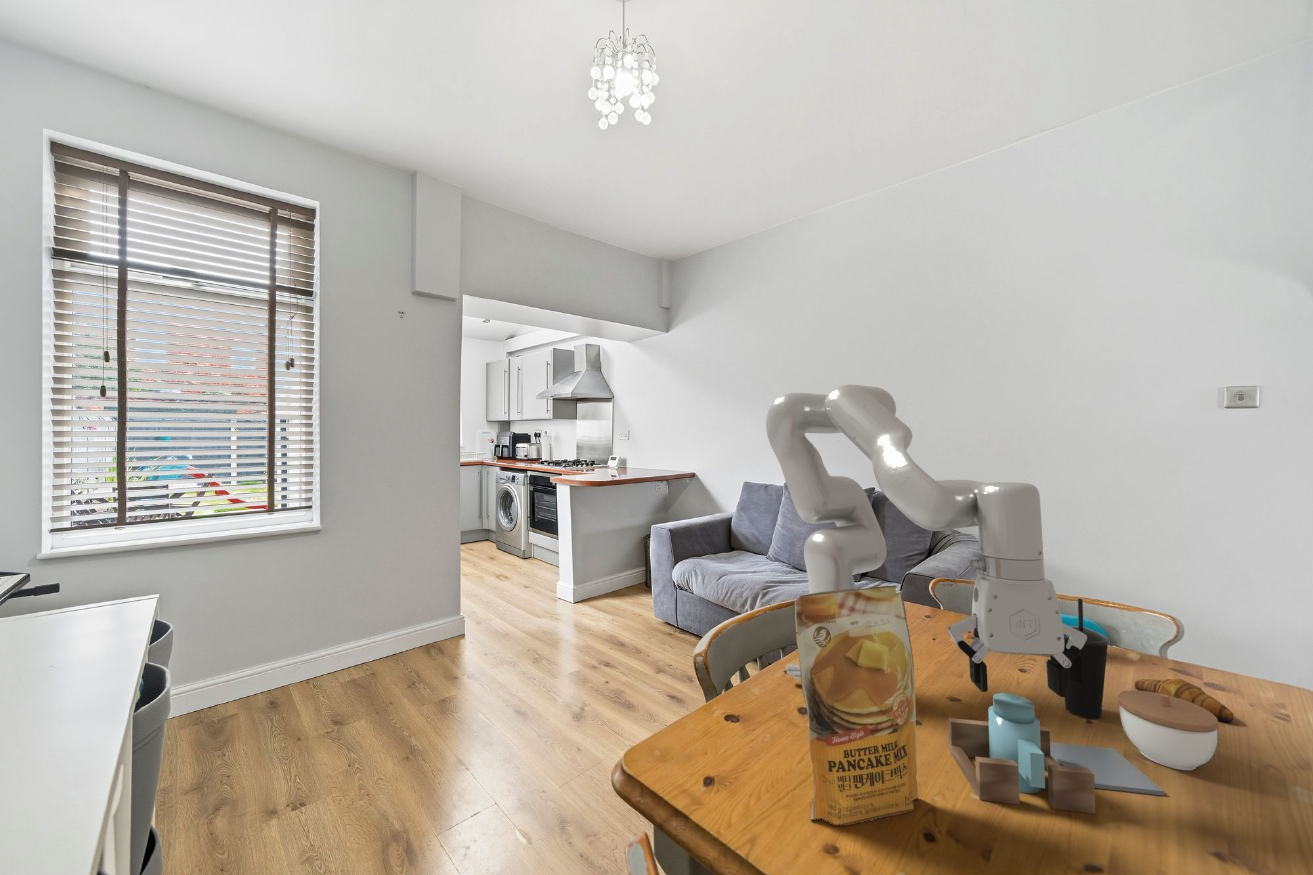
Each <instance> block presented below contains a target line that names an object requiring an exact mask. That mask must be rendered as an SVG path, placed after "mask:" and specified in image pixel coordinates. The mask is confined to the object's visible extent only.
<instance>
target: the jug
mask: <svg viewBox="0 0 1313 875" xmlns="http://www.w3.org/2000/svg"><path fill="white" fill-rule="evenodd" d="M992 702H993V703H992V704H993V705H991V706H989V707H988V722H989V755H990V758H994V759H1003V760H1013V761H1015V762H1016V764H1017V765H1018V766H1019V793H1022V794H1037V793H1039V792H1041V791H1042V789H1046V781H1045V780H1046V778H1045V776H1046V774H1045V773H1046V772H1045V770H1046V769H1045V768H1044V753H1043V752H1042V751H1041V747H1040V726H1041V721H1040V718H1038V716H1037V715H1035V704H1034V703H1033V702H1032V701H1031V700H1029V699H1027V698H1025V697H1023V696H1020V695H1018V694H1013V693H1007V692H997V693H995V694H993V695H992Z"/></svg>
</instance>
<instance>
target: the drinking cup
mask: <svg viewBox="0 0 1313 875" xmlns="http://www.w3.org/2000/svg"><path fill="white" fill-rule="evenodd" d="M1077 612H1078V613H1077V620H1078V621H1077V622H1078V626H1076V625H1070V627H1072V628H1074V629H1076V630H1078V631H1080V632H1082V633H1084V634H1085V635H1086V636H1087V640H1086V642H1085V644H1084V646H1083V648H1081V650H1080V651H1081V653H1080V655H1079V656H1078V657H1077V658H1075V659H1074V660H1073V661H1072V662H1071V666H1070V667H1069V668H1067V677H1068V688H1067V689H1066V697H1063V698H1064V704H1065V705H1064V706H1065V709H1066V711H1068V712H1069V713H1071V714H1072V715H1074V716H1075V715H1076V716H1078V717H1081V718H1084V719H1090V720H1099V719H1101V717H1102V709H1103V698H1104V690H1105V688H1104V687H1105V680H1106V679H1105V677H1106V666H1107V656H1108V647H1109V646H1108V645H1110V642H1111V640H1110V638H1109V637H1107V636H1106V635H1103V634H1101V633H1100V632H1098V631H1096V630H1093V629H1090V628H1088V627H1084V600H1083V599H1082V598H1077ZM1068 640H1069V636H1068V635H1066V634H1064V645H1065V644H1066V643H1068Z"/></svg>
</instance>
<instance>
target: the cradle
mask: <svg viewBox="0 0 1313 875" xmlns="http://www.w3.org/2000/svg"><path fill="white" fill-rule="evenodd" d="M947 720H948V723H947V726H948V751H949V753H950V755H951V756H952V757H953V760H954V761H955V763H956V764H957V765H958V767H959V768H960V770H961V772H962V774H963V775H964V776H965V778H966V780H967V781H968V783H969V785H970V787H972V789H973V791H974V792H975V794H976V796H977V797H978V799H979V800H980V801H986V802H987V801H988V802H994V801H995V802H996V803H1004V804H1012V805H1020V792H1019V766H1018V765H1017V764H1016V762H1015V761H1013V760H1003V759H994V758H990V755H989V721H986V720H985V721H984V720H983V721H982V720H973V719H963V718H952V717H948V718H947ZM1050 742H1051V731H1050V730H1049V729H1048V728H1047V727H1046V726H1041V725H1040V747H1041V751H1042V752H1043V753H1044V770H1046V771H1047V780H1048V781H1047V787H1048V788H1047V789H1048V793H1047V794H1048V803H1049V805H1050V806H1051V807H1052V808H1053V809H1054V810H1060V811H1061V810H1063V811H1071V812H1080V813H1087V814H1096V790H1095V789H1096V788H1095V783H1094V773H1093V772H1092V771H1090V770H1089V769H1088V768H1080V767H1070V766H1060V765H1059V764H1058V763H1057V761H1056V760H1055V759H1054V758H1053V757H1052V756H1051V755H1050ZM970 758H974V759H975V766H974V764H973V763H972V761H971V760H970Z"/></svg>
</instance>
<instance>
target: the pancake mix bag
mask: <svg viewBox="0 0 1313 875" xmlns="http://www.w3.org/2000/svg"><path fill="white" fill-rule="evenodd" d="M904 601H905V600H904V597H903V592H902V590H898V591H897V586H896V585H881V586H874V587H873V586H871V587H866V588H857V589H843V590H835V591H828V592H819V593H813V594H808V593H807V594H803V595H800V596H799V597H798V598H797V599H796V600H794V602H793V608H792V610H793V622H794V623H793V624H794V627H793V628H794V634H795V635H794V637H795V638H794V639H795V642H796V646H797V651H798V660H799V661H798V662H799V665H800V673H801V679H800V680H801V681H800V682H801V689H802V693H803V699H804V703H805V706H806V712H807V713H806V714H807V717H808V718H807V719H808V739H809V740H808V741H809V742H808V743H809V754H810V759H811V766H812V774H813V785H814V788H813V789H814V790H813V797H812V799H811V807H810V814H809V821H810V820H813V821H815V820H816V819H817V820H818V819H823V820H825V821H826V823H827V822H829V823H831V824H833V825H832V826H835V827H836V826H839V825H840V826H848V825H849V826H850V825H854V824H859V823H858V822H860V823H865V822H864V821H866V822H868V821H867V820H870V821H874V819H875V820H878V819H877V818H879V819H881V818H885V817H893V816H898V815H902V814H907V813H909V812H912V811H914V810H915V807H914V801H915V800H917V799H918V798H920V794H919V789H918V783H917V782H918V781H917V770H918V762H917V761H918V757H917V747H918V744H917V730H916V729H917V728H916V726H917V725H916V722H917V721H916V719H917V718H916V715H917V714H916V709H917V707H916V682H915V670H914V669H915V666H914V665H915V664H914V656H913V655H914V654H913V648H912V642H911V637H910V636H911V635H910V630H909V626H908V621H907V620H908V618H907V610H906V606H905V602H904ZM817 820H816V821H817ZM823 820H822V821H823ZM818 821H819V820H818ZM825 821H824V822H825ZM829 823H828V824H829ZM831 824H830V825H831Z"/></svg>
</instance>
